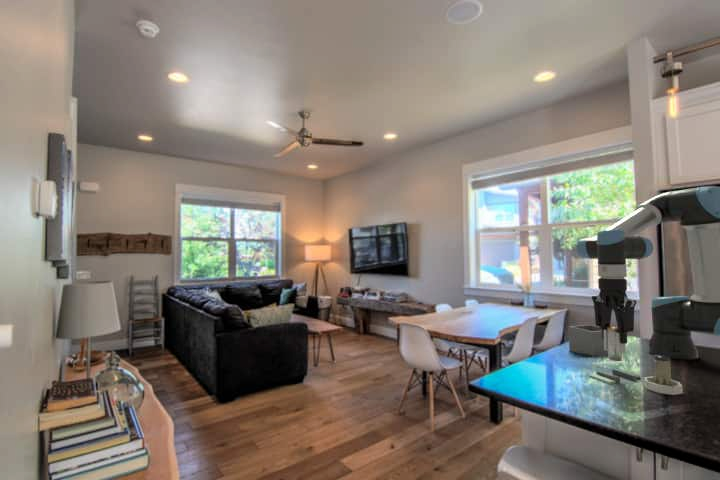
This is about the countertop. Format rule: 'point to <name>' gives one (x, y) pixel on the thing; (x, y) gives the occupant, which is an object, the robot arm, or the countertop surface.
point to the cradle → (616, 377)
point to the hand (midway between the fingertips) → (614, 351)
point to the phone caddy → (587, 340)
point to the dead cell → (662, 370)
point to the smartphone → (584, 354)
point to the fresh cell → (613, 344)
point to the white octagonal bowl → (663, 386)
